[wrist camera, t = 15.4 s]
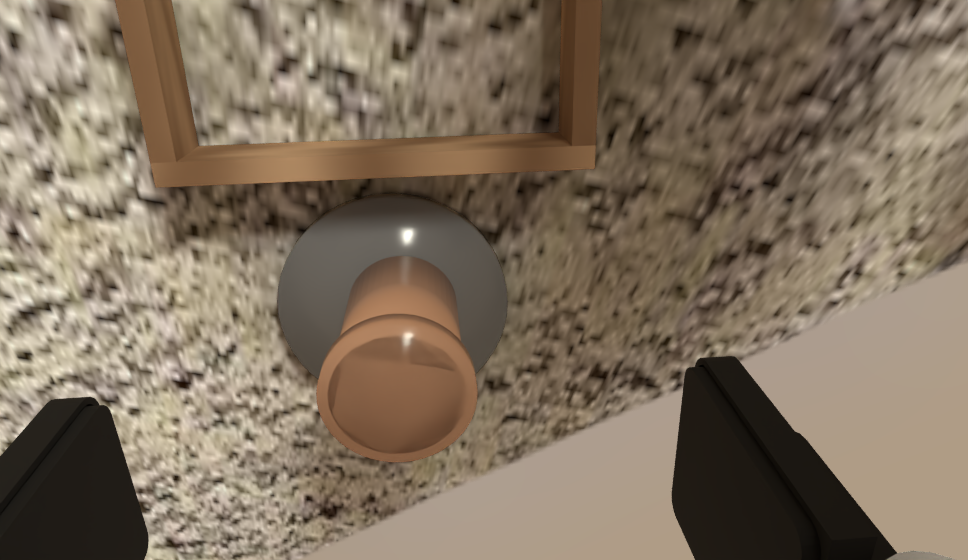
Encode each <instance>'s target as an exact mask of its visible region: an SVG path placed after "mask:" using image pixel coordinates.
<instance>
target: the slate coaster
mask: <svg viewBox="0 0 968 560" xmlns="http://www.w3.org/2000/svg"><path fill="white" fill-rule="evenodd" d="M395 256H410V257H416V258H419V259H422V260H425V261H427V262H429V263H431V264H433V265H434V266H436V267H437V268H439V269H440V270H441V271H442V272H443V273H444V274H445V275H446V277H447V278H448V279H449V281H450V282H451V284H452V286H453V289H454V291H455V295H456V301H457V310H458V319H459V327H460V336H461V342H462V343H463V344H464V346H465V347H466V349H467V351H468V352H469V354H470V357H471V359H472V361H473V365H474V369H475V374H476V373H477V372H478V371H479V370H480V368H481V367H482V366H483V365H484V364H485V363H486V362H487V360H488V359H489V358H490V356H491V355H492V353H493V352H494V350H495V348H496V346H497V344H498V342H499V340H500V338H501V335H502V332H503V329H504V325H505V321H506V316H507V302H508V301H507V289H506V284H505V280H504V275H503V272H502V269H501V266H500V263H499V261H498V258H497V256H496V254H495V252H494V250H493V249H492V247H491V245H490V243H489V242H488V241H487V239H486V238H485V237H484V235H483V234H482V233H481V232H480V231H479V230H478V229H477V228H476V227H475V226H474V225H473V224H472V223H471V222H470V221H469V220H467V219H466V218H465V217H464V216H462V215H461V214H460V213H458V212H456V211H455V210H453V209H451V208H449V207H448V206H446V205H443V204H441V203H439V202H436V201H434V200H431V199H427V198H424V197H420V196H416V195H409V194H402V193H383V194H374V195H368V196H364V197H360V198H355V199H353V200H350V201H348V202H345V203H342V204H340V205H338V206H336V207H335V208H333V209H331V210H329V211H327V212H326V213H325V214H323V215H322V216H321V217H319V218H318V219H316V220H315V221H314V222H313V223H312V224H311V225H310V226H309V227H308V228H307V229H306V230H305V231H304V232H303V234H302V235H301V236H300V238H299V239H298V240H297V241H296V243H295V245H294V247H293V249H292V250H291V252H290V254H289V256H288V258H287V260H286V263H285V265H284V268H283V270H282V273H281V277H280V282H279V286H278V300H277V302H278V314H279V319H280V323H281V327H282V330H283V333H284V335H285V338H286V340H287V342H288V344H289V346H290V348H291V349H292V351H293V353H294V354H295V356H296V357H297V358H298V360H299V361H300V362H301V364H302V365H303V366H304V367H305V368H306V369H307V370H308V371H309V372H310V373H311V374H312V375H314V376H315V377H316V378H317V379H319V376H320V372H321V368H322V364H323V361H324V359H325V356H326V354H327V352H328V350H329V349H330V347H331V346H332V344H333V343H334V342H335V341H336V339H337V338H338V337H339V336H340V333H341V329H342V325H343V320H344V316H345V312H346V307H347V303H348V299H349V295H350V291H351V288H352V286H353V284H354V282H355V280H356V279H357V277H358V276H359V275H360V274H361V273H362V272H363V271H364V270H365V269H366V268H367V267H369V266H370V265H372V264H373V263H375V262H377V261H379V260H382V259H385V258H389V257H395Z"/></svg>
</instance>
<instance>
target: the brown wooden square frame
mask: <svg viewBox="0 0 968 560" xmlns="http://www.w3.org/2000/svg"><path fill="white" fill-rule="evenodd" d="M115 2H116V7H117V11H118V16H119V20H120V25H121V30H122V34H123V39H124V43H125V48H126V53H127V57H128V62H129V66H130V71H131V76H132V80H133V85H134V89H135V94H136V99H137V103H138V108H139V113H140V117H141V122H142V126H143V131H144V136H145V140H146V145H147V149H148V154H149V159H150V163H151V168H152V172H153V177H154V182H155V186H156V187H180V186H203V185H227V184H251V183H274V182H298V181H322V180H345V179H369V178H393V177H416V176H440V175H463V174H487V173H511V172H534V171H558V170H582V169H595V151H596V128H597V105H598V82H599V59H600V36H601V13H602V0H562V3H561V49H560V94H559V132H553V133H527V134H501V135H475V136H449V137H422V138H396V139H370V140H344V141H318V142H292V143H266V144H240V145H214V146H199V145H198V140H197V135H196V129H195V124H194V119H193V113H192V108H191V103H190V97H189V92H188V87H187V81H186V76H185V70H184V65H183V60H182V54H181V49H180V44H179V38H178V33H177V28H176V22H175V17H174V12H173V6H172V1H171V0H115Z"/></svg>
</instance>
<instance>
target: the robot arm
mask: <svg viewBox="0 0 968 560" xmlns="http://www.w3.org/2000/svg"><path fill="white" fill-rule="evenodd" d="M672 504H673V509H674V513H675V516H676V518H677V520H678V523H679V525H680V527H681V529H682V532H683V534H684V536H685V538H686V541H687V543H688V545H689V547H690V549H691V552H692V554H693V556H694V558H695V560H954V559H952V558H948V557H945V556H941V555H938V554H934V553H929V552H917V551H910V552H903V553H897V552H896V551H895V550H894V549H893V547H892V546H891V545H890V544H889V542H888V541H887V540H886V539H885V538H884V536H883V535H882V534H881V532H880V531H879V530H878V529H877V527H876V526H875V525H874V524H873V523H872V521H871V520H870V519H869V517H868V516H867V515H866V514H865V512H864V511H863V510H862V509H861V507H860V506H859V505H858V504H857V503H856V501H855V500H854V499H853V498H852V497H851V495H850V494H849V493H848V491H847V490H846V489H845V487H844V486H843V485H842V484H841V482H840V481H839V480H838V479H837V478H836V476H835V475H834V474H833V472H832V471H831V470H830V469H829V468H828V466H827V465H826V464H825V463H824V461H823V460H822V459H821V458H820V456H819V455H818V454H817V453H816V451H815V450H814V449H813V448H812V446H811V445H810V444H809V443H808V441H807V440H806V439H805V438H804V437H803V436H802V435H801V434H800V433H797V432H795V431H794V430H793V429H792V428H791V426H790V425H789V424H788V422H787V421H786V420H785V419H784V417H783V416H782V415H781V413H780V412H779V411H778V410H777V408H776V407H775V406H774V405H773V403H772V402H771V401H770V400H769V398H768V397H767V396H766V395H765V393H764V392H763V391H762V390H761V388H760V387H759V386H758V384H757V383H756V382H755V381H754V379H753V378H752V377H751V375H750V374H749V373H748V372H747V370H746V369H745V368H744V367H743V365H742V364H741V363H740V362H739V360H738V359H737V358H736V357H733V356H726V357H710V358H700V359H698V360H697V362H696V365H695V367H690V368H688V369H687V370H686V372H685V378H684V387H683V397H682V405H681V414H680V423H679V432H678V441H677V450H676V459H675V468H674V477H673V487H672ZM147 549H148V532H147V528H146V525H145V521H144V518H143V515H142V512H141V509H140V505H139V502H138V499H137V496H136V492H135V489H134V486H133V483H132V479H131V476H130V473H129V470H128V466H127V463H126V460H125V457H124V453H123V450H122V447H121V444H120V440H119V437H118V434H117V431H116V427H115V424H114V421H113V418H112V414H111V412H110V410H109V408H108V407H107V406H104V405H99V403H98V402H97V401H96V399H95V398H92V397H81V398H66V399H54V400H51V401H49V402H48V403H47V404H46V405H45V406H44V407H43V408H42V410H41V411H40V412H39V413H38V414H37V415H36V416H35V418H34V419H33V420H32V421H31V422H30V423H29V424H28V426H27V427H26V428H25V429H24V430H23V431H22V432H21V434H20V435H19V436H18V437H17V438H16V439H15V440H14V441H13V443H12V444H11V445H10V446H9V447H8V448H7V449H6V451H5V452H4V453H3V454H2V455H1V456H0V560H144V559H145V556H146V553H147Z"/></svg>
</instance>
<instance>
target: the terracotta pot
mask: <svg viewBox="0 0 968 560" xmlns="http://www.w3.org/2000/svg"><path fill="white" fill-rule="evenodd" d="M316 394H317V404H318V409H319V413H320V415H321V418H322V420H323V422H324V424H325V425H326V427H327V429H328V430H329V431H330V433H331V434H332V435H333V436H334V437H335V438H336V439H337V440H338V441H339V442H340V443H342V444H343V445H344V446H345V447H347V448H348V449H350V450H352V451H353V452H355V453H358V454H360V455H362V456H364V457H368V458H371V459H374V460H379V461H386V462H407V461H414V460H418V459H423V458H426V457H428V456H431V455H434V454H436V453H438V452H440V451H442V450H443V449H445V448H446V447H448V446H449V445H451V444H452V443H453V442H454V441H455V440H457V439H458V438H459V436H460V435H461V434H462V433H463V432H464V431H465V429H466V428H467V426H468V425H469V423H470V421H471V419H472V417H473V414H474V412H475V408H476V403H477V383H476V376H475V369H474V365H473V361H472V359H471V357H470V354H469V352H468V351H467V349H466V347H465V346H464V344H463V343H462V342H461V336H460V327H459V319H458V310H457V301H456V295H455V291H454V289H453V286H452V284H451V282H450V281H449V279H448V278H447V277H446V275H445V274H444V273H443V272H442V271H441V270H440V269H439V268H437V267H436V266H434V265H433V264H431V263H429V262H427V261H425V260H422V259H419V258H416V257H410V256H395V257H389V258H385V259H382V260H379V261H377V262H375V263H373V264H372V265H370V266H369V267H367V268H366V269H365V270H364V271H363V272H362V273H361V274H360V275H359V276H358V277H357V279H356V280H355V282H354V284H353V286H352V288H351V291H350V295H349V299H348V303H347V307H346V312H345V316H344V320H343V325H342V329H341V333H340V336H339V337H338V338H337V339H336V341H335V342H334V343H333V344H332V346H331V347H330V349H329V350H328V352H327V354H326V356H325V359H324V361H323V364H322V368H321V372H320V376H319V380H318V384H317V393H316Z"/></svg>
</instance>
